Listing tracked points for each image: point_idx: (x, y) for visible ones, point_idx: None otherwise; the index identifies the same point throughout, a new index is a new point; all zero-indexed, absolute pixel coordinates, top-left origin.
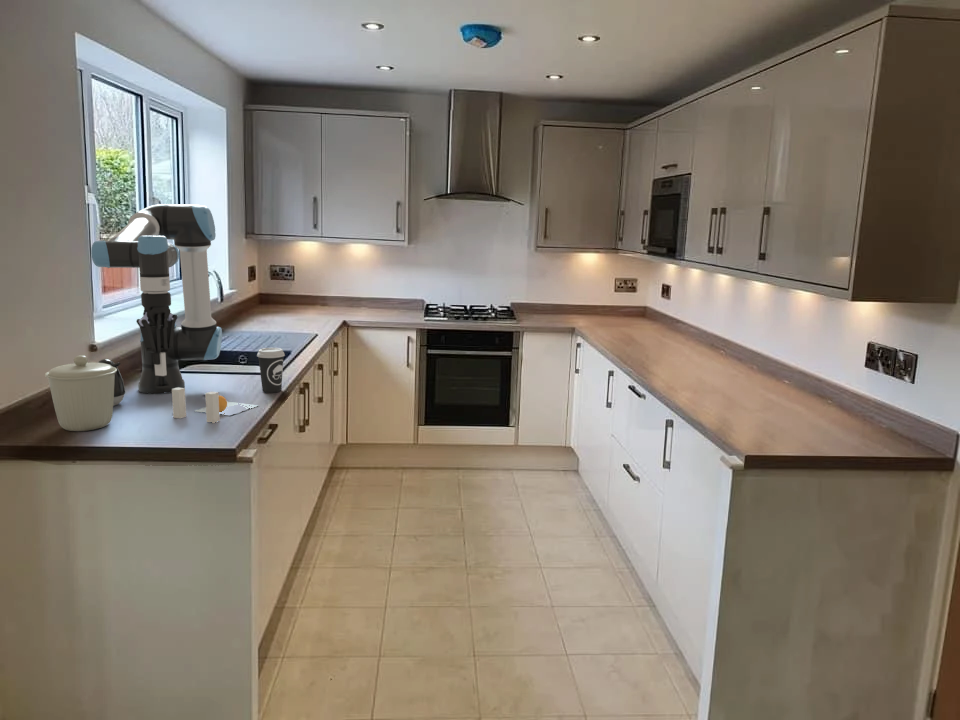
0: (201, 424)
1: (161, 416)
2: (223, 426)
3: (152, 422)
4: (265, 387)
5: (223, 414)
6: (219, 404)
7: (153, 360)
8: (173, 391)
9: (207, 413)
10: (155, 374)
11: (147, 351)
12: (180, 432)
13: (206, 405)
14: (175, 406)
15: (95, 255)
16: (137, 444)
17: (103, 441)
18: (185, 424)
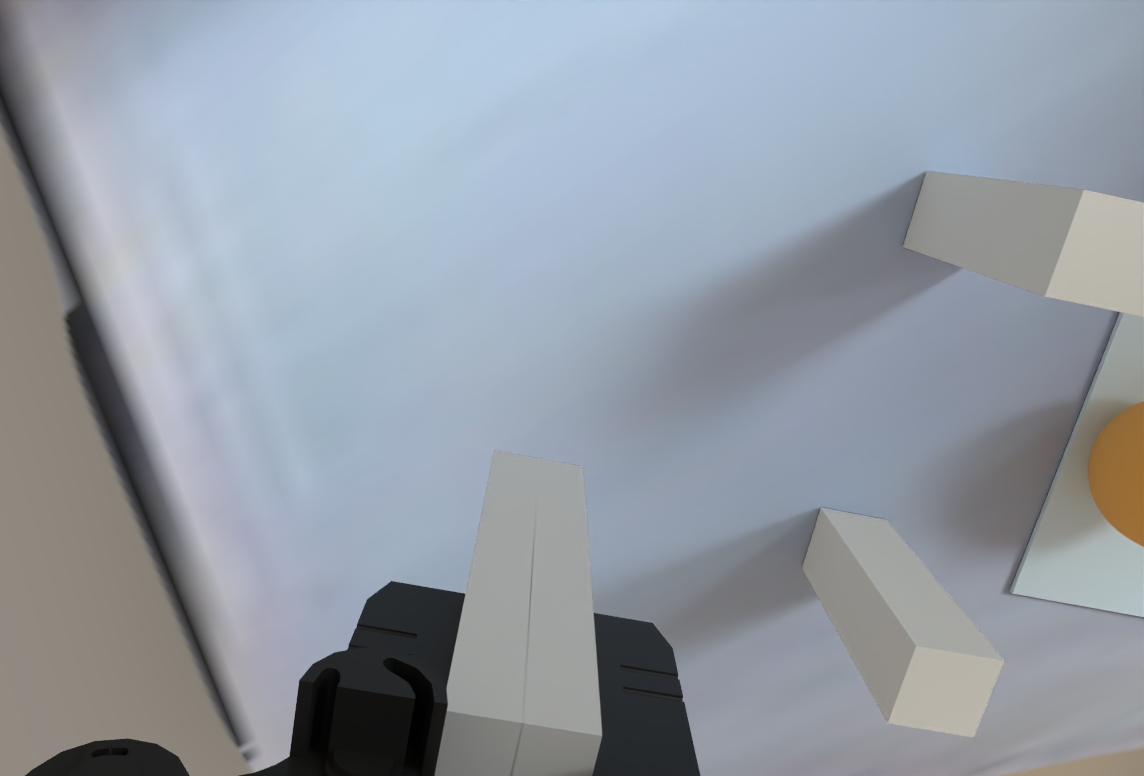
0: (763, 495)
1: (959, 33)
2: (739, 661)
3: (753, 73)
4: None
5: (1047, 527)
6: (1119, 526)
7: (349, 645)
8: (1056, 214)
9: (842, 552)
10: (493, 460)
11: (109, 754)
12: None
13: (868, 583)
14: (966, 212)
15: None
16: (168, 329)
17: (136, 10)
18: (742, 381)
